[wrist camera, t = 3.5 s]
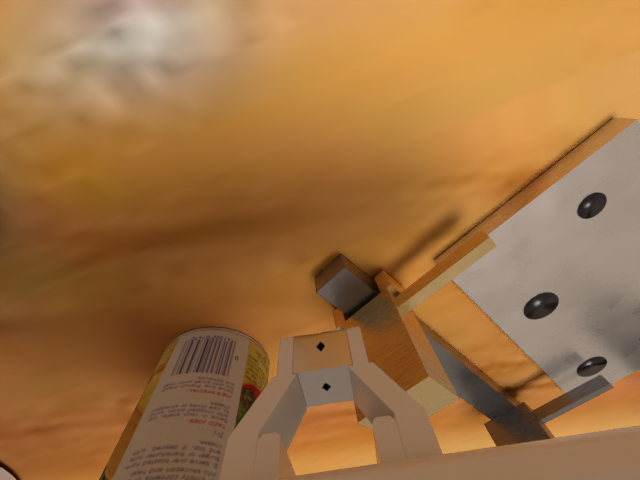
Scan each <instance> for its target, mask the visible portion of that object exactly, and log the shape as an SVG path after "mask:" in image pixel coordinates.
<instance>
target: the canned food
mask: <svg viewBox="0 0 640 480" xmlns="http://www.w3.org/2000/svg"><path fill="white" fill-rule="evenodd" d="M268 373H269V360H268V356H267V353H266V352H265V351H264V349H263V348H262V346H261V345H260V344H259V343H257V342H256V341H255V340H254V339H252V338H251V337H249V336H247V335H245V334H243V333H241V332H238V331H234V330H230V329H226V328H213V327H208V328H201V329H194V330H192V331H189V332H186V333H183V334H181V335H180V336H178V337H177V338H175V339H174V340H173V341H171V343H170V344H169V345H168V347H167V348H166V349H165V351H164V353H163V355H162V357H161V359H160V361H159V363H158V365H157V367H156V369H155V371H154V372H153V374H152V376H151V378H150V380H149V382H148V384H147V386H146V388H145V390H144V392H143V394H142V396H141V398H140V400H139V402H138V404H137V406H136V408H135V410H134V412H133V414H132V416H131V418H130V420H129V422H128V424H127V426H126V428H125V430H124V432H123V434H122V436H121V438H120V440H119V441H118V443H117V445H116V447H115V449H114V451H113V453H112V455H111V457H110V459H109V461H108V463H107V465H106V467H105V469H104V471H103V473H102V475H101V477H100V479H99V480H219V477H220V473H221V468H222V464H223V459H224V455H225V450H226V446H227V441H228V437H229V436H230V435H231V433H232V432H233V431H234V429H235V428H236V427H237V425H238V424H239V423H240V421H241V420H242V418H243V417H244V416H245V414H246V413H247V412H248V410H249V409H250V408H251V406H252V405H253V404H254V402H255V401H256V399H257V398H258V397H259V395H260V394H261V393H262V391H263V390H264V389H265V387H266V386H267V384H268Z"/></svg>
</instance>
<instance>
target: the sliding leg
mask: <svg viewBox="0 0 640 480" xmlns="http://www.w3.org/2000/svg"><path fill="white" fill-rule="evenodd" d="M496 246H497V245H496V244H495V243H494V241H493V240H492V239H491V238H490V237H489V236H488V235H486V234H485V233H484V232H482V231H479V232H478V233H477V234H476V235H474V236H473V237H472V238H470V239H469V240H468V241H467V242H465V243H464V244H463V245H462V246H460V247H459V248H458V249H456V250H455V251H454V252H453V253H451V254H450V255H449V256H448V257H446V258H445V259H444V260H442V261H441V262H440V263H439V264H437V265H436V266H435V267H433V268H432V269H431V270H430V271H428V272H427V273H426V274H425V275H423V276H422V277H421V278H419V279H418V280H417V281H416V282H414V283H413V284H412V285H410V286H409V287H408V288H407V289H405V288H403V287H402V286H401V285H400V284H399V283H398V282H397V281H395V280H394V279H393V278H392V277H391V276H390V275H389V274H387V273H386V272H385V271H384V270H383V271H381V272H380V273H379V274H378V275H377V276H375V277H374V279H375V281H376V283H377V286H378V288H379V290H380V294H379V295H377V296H376V297H375V298H374V299H372V300H371V301H370V302H369V303H367V304H366V305H365V306H364V307H362V308H361V309H360V310H359V311H357V312H356V313H355V314H354V315H352V316H351V317H349V316H348V315H346V314H345V313H344V312H342V311H341V310H340V309H338V308H337V309H336V310H335V311H333V314H334V319H335V325H336V329H337V330H340V329H346V328H352V327H358V326H359V328H360V330H361V334H362V338H363V342H364V346H365V350H366V354H367V358H368V362H369V363H370V362H373V363H374V364H375V365H376V366H378V367H379V368H380V369H381V370H382V371H383V372H384V373H385V374H387V375H388V376H389V377H390V378H391V379H392V380H393V381H394V382H395V383H397V384H398V385H399V386H400V387H401V388H402V389H403V390H404V391H406V392H407V393H408V394H409V395H410V396H411V397H412V398H413V399H415V400H416V401H417V402H418V403H419V404H420V405H421V406H422V407H423V408H425V410H426V412H427V415H428V417H430V416H432V415H433V414H435V413H437V412H438V411H440V410H442V409H443V408H445V407H447V406H448V405H450V404H452V403H453V402H455V401H456V400H458V399H460V398H459V396H458V395H457V393H456V391H455V389H454V387H453V385H452V383H451V382H450V380H449V378H448V376H447V374H446V372H445V371H444V369H443V367H442V365H441V363H440V361H439V359H438V358H437V356H436V354H435V352H434V350H433V348H432V346H431V345H430V343H429V341H428V339H427V337H426V335H425V334H424V332H423V330H422V328H421V326H420V324H419V322H418V321H417V319H416V317H415V315H414V313H413V311H412V310H413V309H414V308H415V307H417V306H418V305H419V304H421V303H422V302H423V301H425V300H426V299H427V298H429V297H430V296H431V295H433V294H434V293H435V292H437V291H438V290H439V289H441V288H442V287H443V286H445V285H446V284H447V283H449V282H450V281H451V280H453V279H454V278H455V277H457V276H458V275H459V274H461V273H462V272H463V271H465V270H466V269H467V268H469V267H470V266H471V265H473V264H474V263H475V262H476V261H478V260H479V259H480V258H482V257H483V256H484V255H486V254H487V253H488V252H490V251H491V250H492V249H494V248H495V247H496ZM354 404H355V402H354ZM355 410H356V415H357V420H358V423H360V424H362V425H363V426H365V427H367V428H369V429H371V430H373V425H372V424H371V423H370V421H369V420H368V419H367V418H366V416H365V415H364V414H363V412H362V411H361V410H360V409H359V407H358V406H357V405H356V404H355Z"/></svg>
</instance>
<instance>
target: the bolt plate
mask: <svg viewBox="0 0 640 480" xmlns="http://www.w3.org/2000/svg"><path fill="white" fill-rule="evenodd" d="M479 231H482V232H484V233H485V234H486V235H488V236H489V237H490V238H491V239H492V240H493V241H494V243H495V244H496V245H497V246H496V247H495V248H494V249H492V250H491V251H490V252H488V253H487V254H486V255H484V256H483V257H482V258H480V259H479V260H478V261H476V262H475V263H474V264H473V265H471V266H470V267H469V268H467V269H466V270H465V271H463V272H462V273H461V274H459V275H458V276H457V277H455V278H454V279H453V281H454V282H455V283H456V284H457V285H458V286H459V287H460V288H461V289H462V290H463V291H464V292H465V293H466V294H467V295H468V296H469V297H470V298H471V299H472V300H473V301H474V302H475V303H476V304H477V305H478V306H479V307H480V308H481V309H482V310H483V311H484V312H485V313H486V314H487V315H488V316H489V317H490V318H491V319H492V320H493V321H494V322H495V323H496V324H497V325H498V326H499V327H500V328H501V329H502V330H503V331H504V332H505V333H506V334H507V335H508V336H509V337H510V338H511V339H512V340H513V341H514V342H515V343H516V344H517V345H518V346H519V347H520V348H521V349H522V350H523V351H524V352H525V353H526V354H527V355H528V356H529V357H530V358H531V359H532V360H533V361H534V362H535V363H536V364H537V365H538V366H539V367H540V368H541V369H542V370H543V371H544V372H545V373H546V374H547V375H548V376H549V377H550V378H551V379H552V380H553V381H554V382H555V383H556V384H557V385H558V386H559V387H560V388H561V389H562V390H563V391H564V392H565V393H567V392H569V391H570V390H572V389H574V388H576V387H578V386H580V385H582V384H583V383H585V382H587V381H589V380H591V379H593V378H595V377H596V376H598V375H602V376H603V377H604V378H605V379H606V380H607V381H608V382H609V383H610V384H612V383H614V382H616V381H618V380H620V379H622V378H624V377H626V376H628V375H630V374H632V373H633V372H635V371H637V370H639V369H640V124H639V121H638V119H627V118H613V119H611V120H610V121H609V122H608V123H606V124H605V125H604V126H602V127H601V128H600V129H599V130H597V131H596V132H595V133H594V134H592V135H591V136H590V137H589V138H587V139H586V140H585V141H584V142H582V143H581V144H580V145H578V146H577V147H576V148H575V149H573V150H572V151H571V152H570V153H568V154H567V155H566V156H565V157H563V158H562V159H561V160H560V161H558V162H557V163H556V164H555V165H553V166H552V167H551V168H549V169H548V170H547V171H546V172H544V173H543V174H542V175H541V176H539V177H538V178H537V179H536V180H534V181H533V182H532V183H531V184H529V185H528V186H527V187H525V188H524V189H523V190H522V191H520V192H519V193H518V194H517V195H515V196H514V197H513V198H512V199H510V200H509V201H508V202H507V203H505V204H504V205H503V206H502V207H500V208H499V209H498V210H496V211H495V212H494V213H493V214H491V215H490V216H489V217H488V218H486V219H485V220H484V221H483V222H481V223H480V224H479V225H478V226H476V227H475V228H474V229H472V230H471V231H470V232H469V233H467V234H466V235H465V236H464V237H462V238H461V239H460V240H459V241H457V242H456V243H455V244H454V245H452V246H451V247H450V248H448V249H447V250H446V251H445V252H443V253H442V254H441V255H440V256H438V257H437V258H436V259H435V260H434V261H435V262H436V263H437V264H439V263H440V262H441V261H442V260H444V259H445V258H446V257H448V256H449V255H450V254H451V253H453V252H454V251H455V250H456V249H458V248H459V247H460V246H462V245H463V244H464V243H465V242H467V241H468V240H469V239H470V238H472V237H473V236H474V235H476V234H477V233H478V232H479Z"/></svg>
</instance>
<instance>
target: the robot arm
mask: <svg viewBox="0 0 640 480" xmlns="http://www.w3.org/2000/svg"><path fill="white" fill-rule="evenodd" d="M352 400H354V402H355V404H356V405H357V406H358V407H359V409H360V410H361V411H362V412H363V414H364V415H365V416H366V418H367V419H368V420H369V421H370V423H371V424H372V425H373V432H374V441H375V449H376V458H377V464H373V465H366V466H359V467H352V468H346V469H339V470H332V471H325V472H318V473H311V474H305V475H298V476H296V475H295V472H294V469H293V467H292V464H291V462H290V459H289V457H288V454H287V450H288V448H289V445H290V443H291V441H292V439H293V437H294V435H295V433H296V431H297V429H298V427H299V425H300V422H301V420H302V418H303V416H304V414H305V412H306V410H307V408H306V407H312V406H317V405H323V404H328V403H336V402H344V401H352ZM0 480H16V479H15V478H14V477H13V476H12V475H11V474H10V473H8V472H7V471H6V470H4V469H3V468H1V467H0ZM219 480H640V426H634V427H627V428H620V429H613V430H606V431H599V432H593V433H586V434H579V435H572V436H565V437H558V438H551V439H545V440H538V441H531V442H524V443H517V444H510V445H504V446H497V447H490V448H483V449H476V450H469V451H463V452H456V453H449V454H443V453H442V451H441V448H440V446H439V443H438V441H437V438H436V436H435V433H434V430H433V428H432V425H431V423H430V420H429V418H428V415H427V412H426V410H425V408H423V407H422V406H421V405H420V404H419V403H418V402H417V401H416V400H415V399H413V398H412V397H411V396H410V395H409V394H408V393H407V392H406V391H404V390H403V389H402V388H401V387H400V386H399V385H398V384H397V383H395V382H394V381H393V380H392V379H391V378H390V377H389V376H388V375H387V374H385V373H384V372H383V371H382V370H381V369H380V368H379V367H378V366H376V365H375V364H374V363H373V362H370V363H369V362H368V358H367V354H366V350H365V346H364V342H363V338H362V334H361V330H360V328H359V326H358V327H352V328H346V329H340V330H334V331H328V332H322V333H317V334H309V335H302V336H294V337H289V338H281V340H280V346H279V356H278V367H277V377H273V378H272V379H271V380H270V382H269V383H268V384H267V386H266V387H265V389H264V390H263V391H262V393H261V394H260V395H259V397H258V398H257V399H256V401H255V402H254V404H253V405H252V406H251V408H250V409H249V410H248V412H247V413H246V414H245V416H244V417H243V418H242V420H241V421H240V423H239V424H238V425H237V427H236V428H235V429H234V431H233V432H232V433H231V435H230V436H229V437H228V441H227V446H226V450H225V455H224V459H223V464H222V468H221V473H220V477H219Z"/></svg>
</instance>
